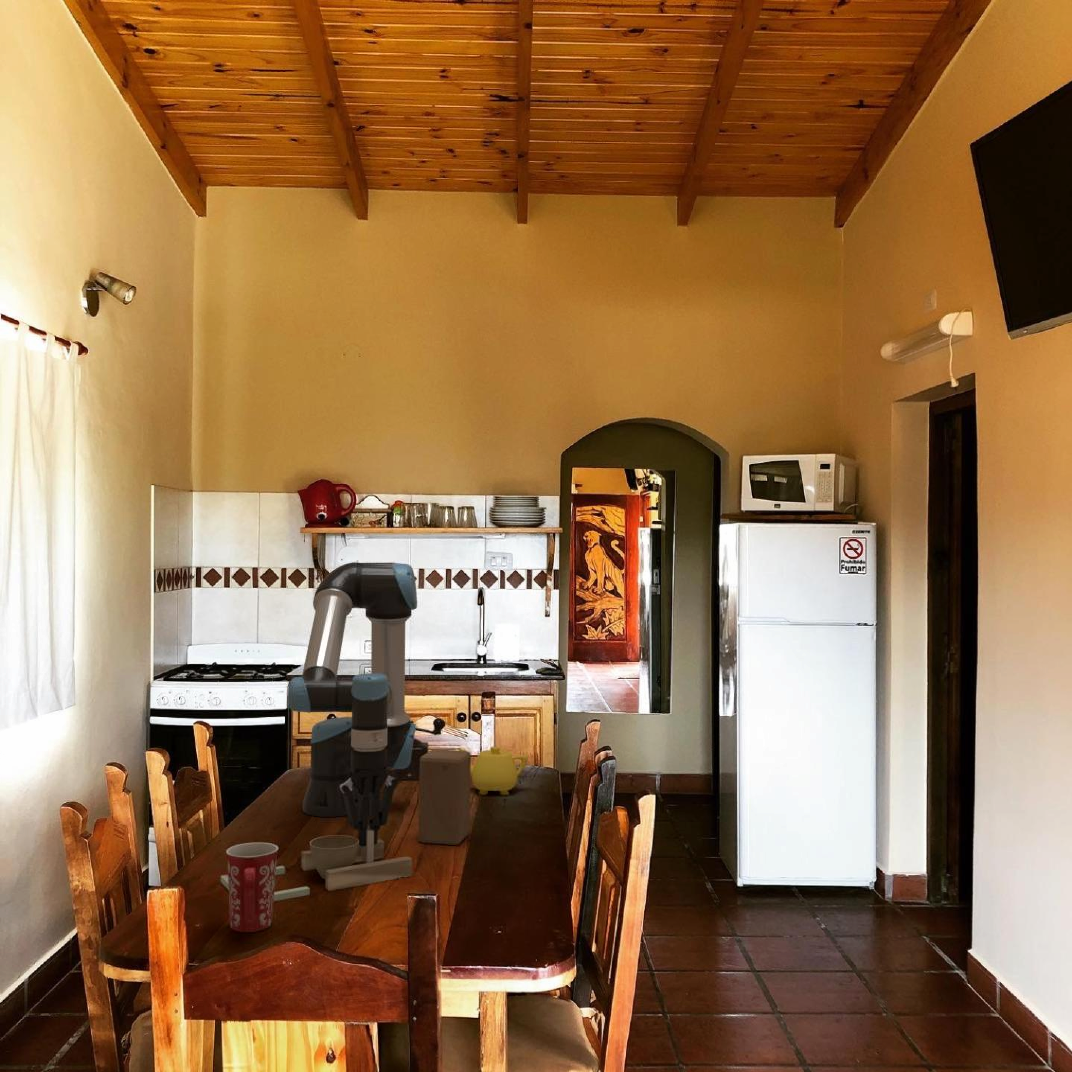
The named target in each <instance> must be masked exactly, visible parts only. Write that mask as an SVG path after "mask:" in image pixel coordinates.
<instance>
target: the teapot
mask: <svg viewBox="0 0 1072 1072" xmlns="http://www.w3.org/2000/svg"><path fill="white" fill-rule="evenodd" d="M457 750H460V751H467V750H466V749H464V748H460V747H458V748H457ZM511 753H512V752H510V750H509V751H508V750H501V747H500V746H490V748H489V749H486V750H481V751H480V752H479V753H478V756H477V758H476V759H475V762H474V765H473V764H472V763H471V765H470V778H471V781H472V784H473V785H474V786H473V787H475V789H477V790H478V791H479V792H478V795H481V796H486V795H488V794H489V791H493V792H497V791H498V792H499V794H500V795H501V796H509V795H510V793H509V791H510V790H512V789H513V788H515V786H516V784H517V782H518V778H519V777H518V776H519V775H520V774H521V772H523V770H524V768H525V767H526V765H528V760H529V759H528V756H527V755H525V754H518V755H512V754H511ZM514 760H520V764H519V767H518V769H517V765H516V763H515V762H516V761H514Z"/></svg>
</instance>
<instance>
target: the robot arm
mask: <svg viewBox="0 0 1072 1072" xmlns="http://www.w3.org/2000/svg"><path fill="white" fill-rule="evenodd" d="M416 584H417V583H416V578H415V573H414V569H413V567H412V566H411V565H410V564H408V563H400V562H359V561H358V562H356V561H353V562H352V561H351V562H348V563H344V564H341V565H340V566H338V567H336V568H334V569H332V571H330V572H329V573H328V574H327V575H326V576H325V577H324V578H323V579H322V580H321V582H320V583H319V584H318V586H317V587H316V590H315V593H314V597H313V600H312V605H313V606H312V607H313V609H314V611H315V612H314V616H313V622H312V626H311V631H310V636H309V640H308V645H307V650H306V656H305V660H304V666H303V670H302V676H298V677H296V676H295V677H292V678H291V679H290V681H289V685H288V691H287V692H288V693H287V694H288V695H287V696H288V697H287V702H288V706H289V709H290V710H291V711H292V712H300V713H308V714H310V713H351V716H343V717H342V716H341V717H335V718H328V719H324V720H322V721H318V722H317V723H315V724H314V725H313V726H312V728H311V738H310V742H309V743H310V775H309V777H310V778H309V779H310V780H309V783H308V787H307V789H306V792H305V794H304V799H303V800H302V812H303V813H304V814H306V815H309V816H315V817H322V818H323V817H325V818H327V817H328V818H334V817H344V816H347V819H348V823H349V827H351V828H352V829H355V830H357V831H358V838H357V839H359V845H360V846H362V860H363V861H362V862H365V864H366V863H372V862H374V860H375V859H374V845H375V844H377V840H379V839H378V831H379V830H381V827H382V826H386V825H387V821H388V819H389V814H390V809H391V805H392V800H393V796H394V792H395V789H396V787H397V786H398V784H399V780H398V779H395V778H393V776H392V775H389V770H391V771H393V769H404V768H407V767H408V766H409V765H410V762H411V755H412V748H413V741H414V739H415V734H416V733H415V732H416V730H415V728H417V726H416V723H410V721H411V716H410V715H409V713H407V712H406V711H405V710H406V709H405V703H406V701H405V698H406V697H405V696H406V695H405V692H406V687H405V686H406V684H405V683H406V682H405V679H406V678H405V677H406V622H407V621H408V620H409V619H410V618H411V617H412V611H414V610H416V609H417V608H418V597H417V596H418V593H417V585H416ZM353 609H365V617H366V618H367V619H368V620H369V622H371V623H370V624H371V635H370V636H371V638H370V639H371V640H370V641H371V643H370V645H371V646H370V648H371V652H370V653H371V656H370V657H371V658H370V659H371V660H370V661H371V662H370V667H371V668H370V673H368V672H366V673H359V674H356V675H354V676H353V677H338V670H339V665H340V658H341V653H342V647H343V641H344V640H343V639H344V634H345V629H346V628H345V627H346V623H347V616H349V615H350V614H351V612H352V610H353ZM383 785H384V787H383ZM382 787H383V789H382ZM381 789H382V790H383V791H382V794H381ZM380 797H381V798H380ZM368 826H369V827H368Z"/></svg>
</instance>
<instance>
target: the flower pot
mask: <svg viewBox="0 0 1072 1072" xmlns="http://www.w3.org/2000/svg"><path fill="white" fill-rule="evenodd" d="M358 846H359V839H358V838H357V837H355V836H353V835H351V836H350V835H346V834H345V835H343V834H342V835H341V834H339V835H338V834H334V835H333V834H332V835H331V834H330V835H323V836H319V837H316V838H314V839H312V840H310V841H309V848H310V849H309V850H311V855H312V858H313V861H314V864H315V866H316V868H317V869H316V870H317V872H318V874H319V875H320V877H321V878H322V879H324V880H326V870H331V869H337V868H343V867H349V866H354V860H355V858H356V855H357V851H358Z"/></svg>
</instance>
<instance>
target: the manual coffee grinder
mask: <svg viewBox="0 0 1072 1072" xmlns="http://www.w3.org/2000/svg"><path fill="white" fill-rule="evenodd" d="M410 723H413V724H415V722H414V721H413V720H410ZM432 725H433V730H430V729H425V728H418V727H416V728H415V731H417V732H422V733H428V734H431V735H434V736H438V735H442V730H443V728H445V727H446V721H445V720H444V719H443V718H440V717H437V718H435V719H433V721H432ZM428 752H429V742H427V741H425V742H424V741H422V740H419V739H417V738H414V741H413V748H412V755H411V762H410V765H409V766H408V767H407V768H404V769H393V770H392V777H393V778H395V779H398V781H419V776H420V758H421V757H422V756H423V755H425V754H426V753H428Z"/></svg>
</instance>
